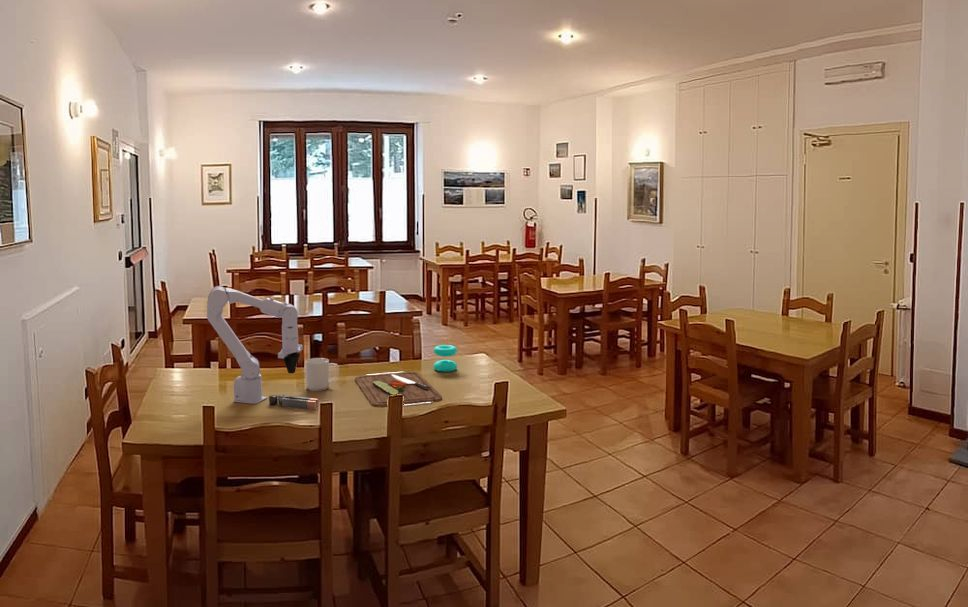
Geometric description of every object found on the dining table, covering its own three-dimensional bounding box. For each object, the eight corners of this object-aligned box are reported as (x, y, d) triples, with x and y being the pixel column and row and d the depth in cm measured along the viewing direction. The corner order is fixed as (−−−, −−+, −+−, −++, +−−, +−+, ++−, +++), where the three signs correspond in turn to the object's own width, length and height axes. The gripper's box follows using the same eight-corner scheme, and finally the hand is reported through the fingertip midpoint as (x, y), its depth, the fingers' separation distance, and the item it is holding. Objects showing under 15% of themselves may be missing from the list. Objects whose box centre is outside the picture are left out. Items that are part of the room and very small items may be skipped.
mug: (305, 392, 288) (304, 363, 286) (307, 385, 297) (306, 358, 295) (337, 390, 290) (336, 362, 288) (337, 384, 299) (337, 357, 297)
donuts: (458, 349, 317) (435, 350, 315) (458, 372, 319) (435, 373, 317) (455, 343, 327) (432, 344, 325) (455, 366, 328) (432, 366, 327)
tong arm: (277, 404, 272) (276, 396, 271) (280, 402, 274) (280, 394, 274) (316, 408, 268) (316, 400, 267) (319, 406, 270) (319, 398, 269)
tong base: (267, 405, 272) (267, 397, 271) (272, 402, 275) (271, 394, 274) (315, 410, 267) (314, 402, 266) (319, 407, 270) (318, 399, 269)
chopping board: (352, 377, 310) (352, 370, 310) (415, 372, 319) (415, 365, 319) (374, 410, 268) (374, 402, 268) (446, 403, 277) (446, 395, 277)
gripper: (289, 342, 270) (291, 378, 272) (309, 333, 283) (310, 368, 286) (272, 340, 271) (273, 377, 274) (292, 332, 285) (294, 367, 288)
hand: (291, 372), depth 280 cm, fingers closed
